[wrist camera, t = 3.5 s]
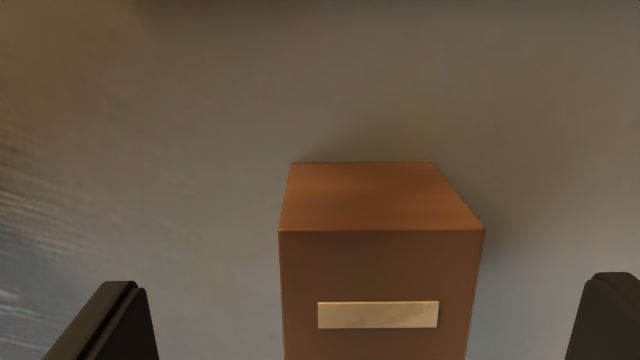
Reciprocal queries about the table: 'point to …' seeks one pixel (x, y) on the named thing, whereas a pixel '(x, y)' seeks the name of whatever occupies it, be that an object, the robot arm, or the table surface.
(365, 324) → the brown wooden block
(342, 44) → the table surface
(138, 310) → the robot arm
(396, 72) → the table surface
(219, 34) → the table surface
